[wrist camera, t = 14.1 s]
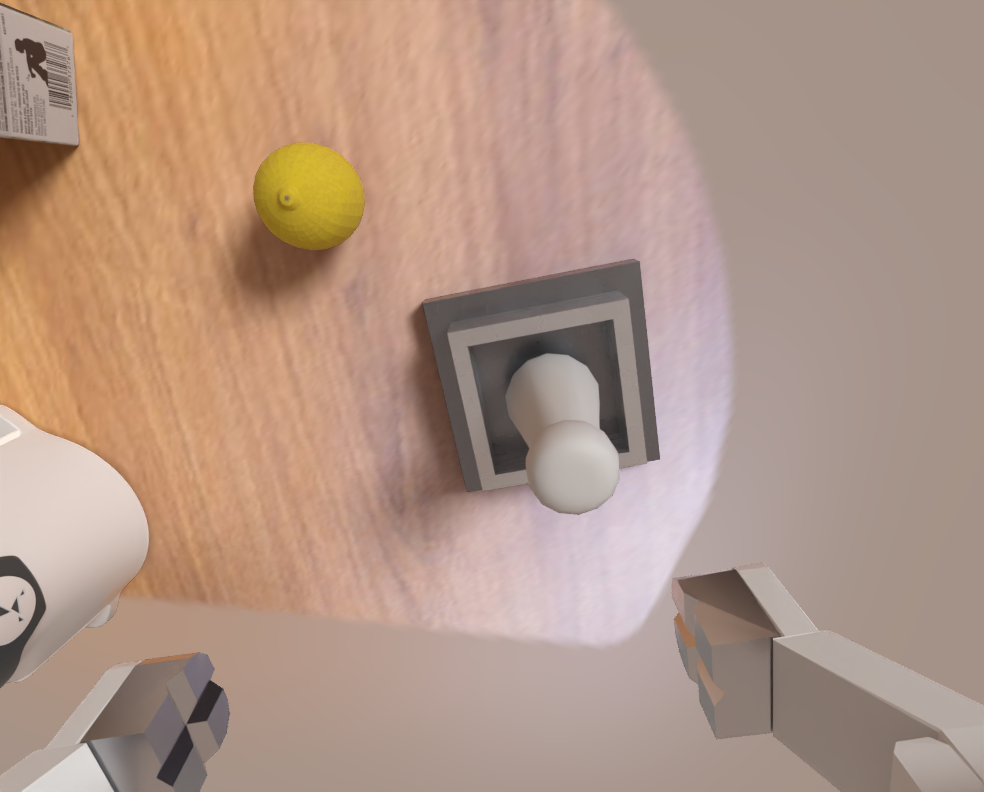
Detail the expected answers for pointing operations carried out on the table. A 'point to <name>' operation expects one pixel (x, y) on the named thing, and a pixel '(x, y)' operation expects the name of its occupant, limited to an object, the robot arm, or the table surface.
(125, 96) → the table surface
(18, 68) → the coffee box
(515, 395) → the salt shaker
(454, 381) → the socket block
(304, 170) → the lemon
